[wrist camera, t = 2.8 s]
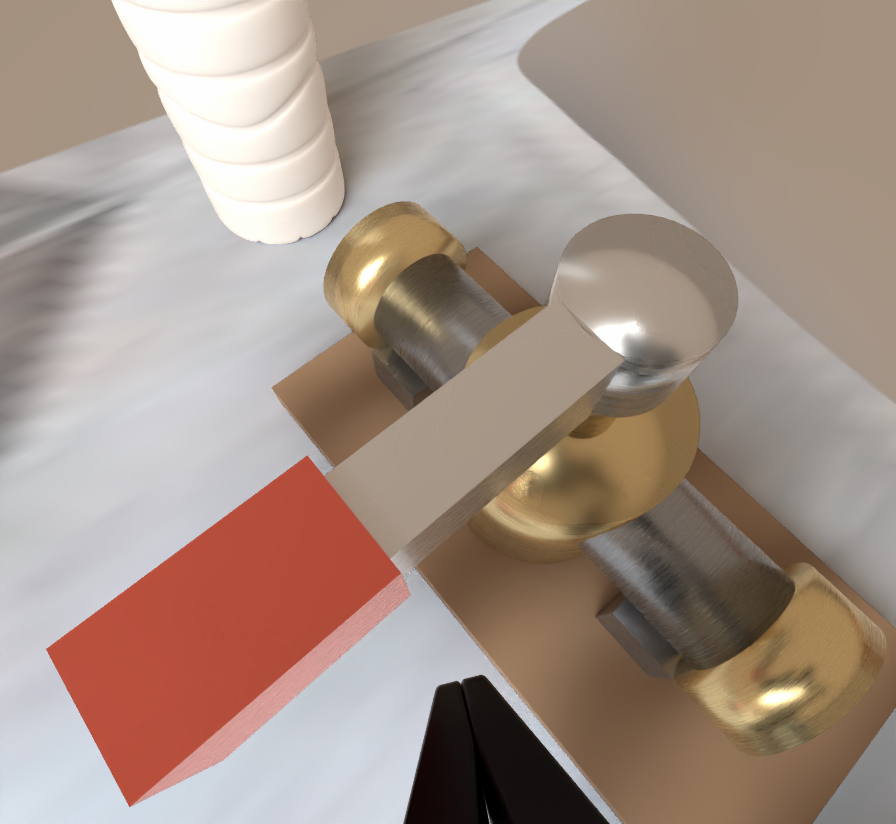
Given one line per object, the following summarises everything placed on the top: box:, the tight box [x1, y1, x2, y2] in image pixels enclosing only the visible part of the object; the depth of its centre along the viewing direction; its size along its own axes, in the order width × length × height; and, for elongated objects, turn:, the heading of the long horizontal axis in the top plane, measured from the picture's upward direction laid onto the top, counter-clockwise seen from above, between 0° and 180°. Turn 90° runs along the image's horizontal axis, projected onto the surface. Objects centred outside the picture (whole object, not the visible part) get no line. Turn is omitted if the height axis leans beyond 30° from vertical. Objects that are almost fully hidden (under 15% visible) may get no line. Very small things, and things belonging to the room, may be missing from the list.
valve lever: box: [46, 214, 738, 807], centre depth 10 cm, size 12×3×3 cm, turn 131°
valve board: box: [272, 247, 896, 824], centre depth 21 cm, size 22×11×2 cm, turn 41°
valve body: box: [324, 202, 887, 756], centre depth 16 cm, size 18×6×9 cm, turn 41°
